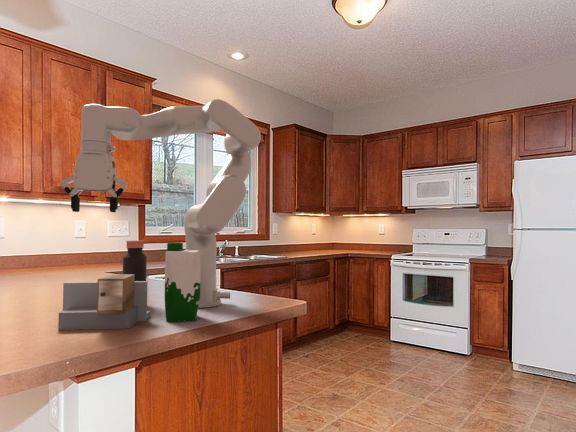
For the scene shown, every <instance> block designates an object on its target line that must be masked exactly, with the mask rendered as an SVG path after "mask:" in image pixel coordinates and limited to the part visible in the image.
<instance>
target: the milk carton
mask: <svg viewBox="0 0 576 432" xmlns="http://www.w3.org/2000/svg"><path fill="white" fill-rule="evenodd" d="M183 244H184V243H183V242H167V243H166V251H165V261H164V262H165V263H164V309H165V311H164V312H165V320H166V323H178V322H179V323H180V322H181V323H182V322H183V323H184V322H195V321H196V318H197V316H198V309H199V308H198V306H199V301H200V273H201V271H200V258H199V250H186V249H183V248H184V245H183Z"/></svg>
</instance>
